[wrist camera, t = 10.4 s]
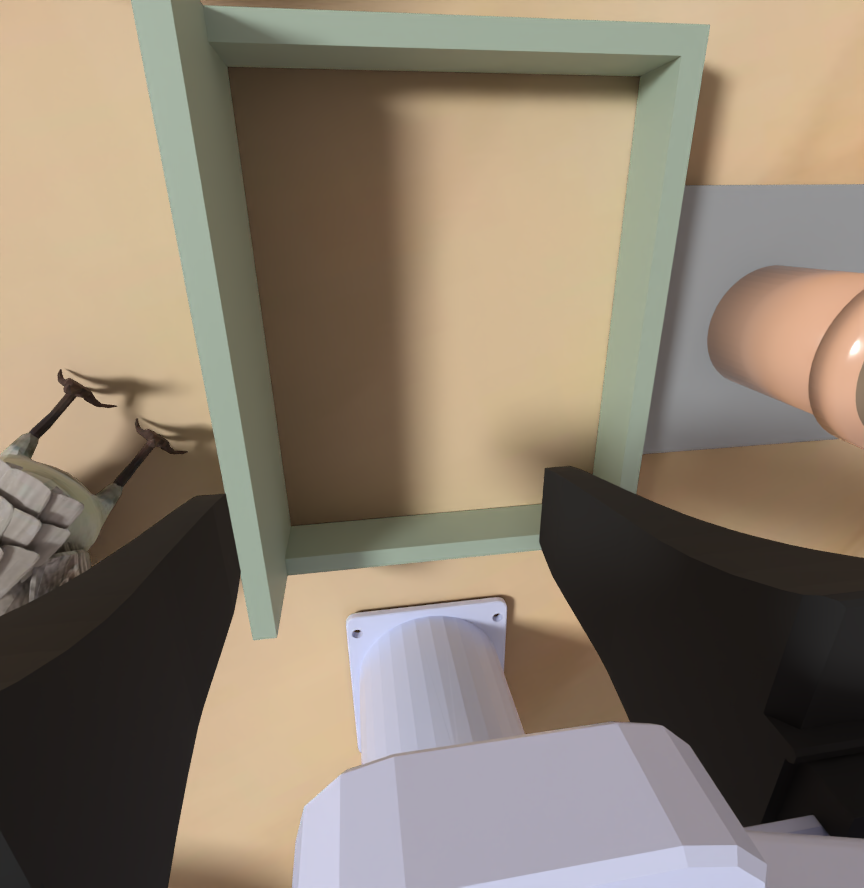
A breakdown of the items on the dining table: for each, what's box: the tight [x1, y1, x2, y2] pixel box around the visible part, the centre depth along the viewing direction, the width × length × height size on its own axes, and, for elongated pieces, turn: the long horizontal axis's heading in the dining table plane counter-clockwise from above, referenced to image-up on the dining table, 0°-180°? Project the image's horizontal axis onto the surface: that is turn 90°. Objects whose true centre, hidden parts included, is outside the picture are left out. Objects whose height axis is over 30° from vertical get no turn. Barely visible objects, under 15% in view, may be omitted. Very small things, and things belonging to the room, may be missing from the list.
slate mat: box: [643, 184, 864, 454], centre depth 23 cm, size 11×11×1 cm
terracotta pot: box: [707, 265, 864, 449], centre depth 19 cm, size 6×6×7 cm
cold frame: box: [131, 0, 710, 640], centre depth 18 cm, size 19×16×6 cm
